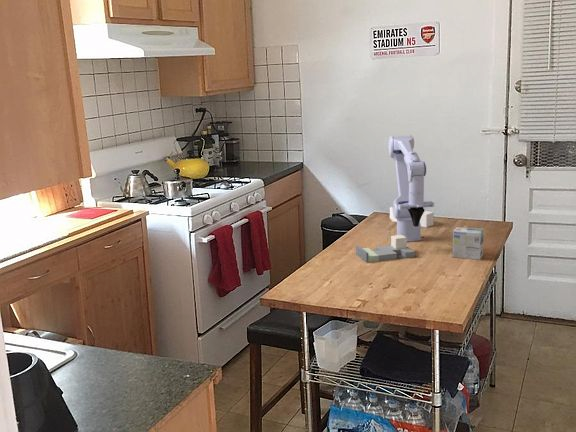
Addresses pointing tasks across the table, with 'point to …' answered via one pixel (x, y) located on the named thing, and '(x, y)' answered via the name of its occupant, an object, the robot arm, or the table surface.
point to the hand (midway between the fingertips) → (415, 225)
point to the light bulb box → (468, 243)
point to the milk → (424, 221)
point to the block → (398, 241)
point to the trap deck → (384, 253)
